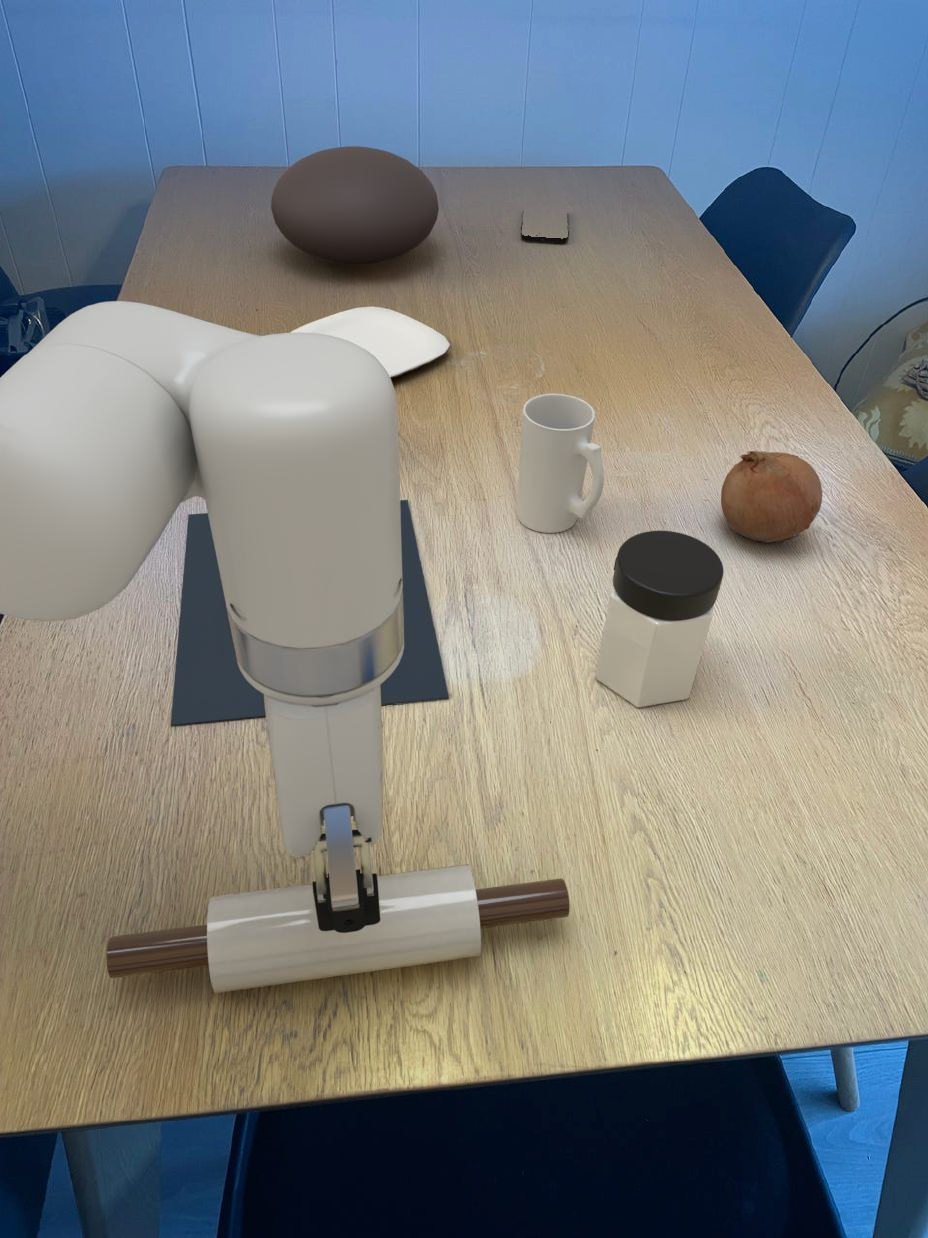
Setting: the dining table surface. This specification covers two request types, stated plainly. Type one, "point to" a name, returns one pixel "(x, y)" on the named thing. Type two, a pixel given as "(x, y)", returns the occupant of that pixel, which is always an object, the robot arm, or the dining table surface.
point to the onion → (771, 496)
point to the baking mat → (209, 656)
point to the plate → (384, 337)
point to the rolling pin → (298, 951)
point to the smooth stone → (354, 205)
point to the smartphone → (544, 239)
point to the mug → (557, 463)
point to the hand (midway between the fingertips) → (343, 845)
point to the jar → (658, 616)
